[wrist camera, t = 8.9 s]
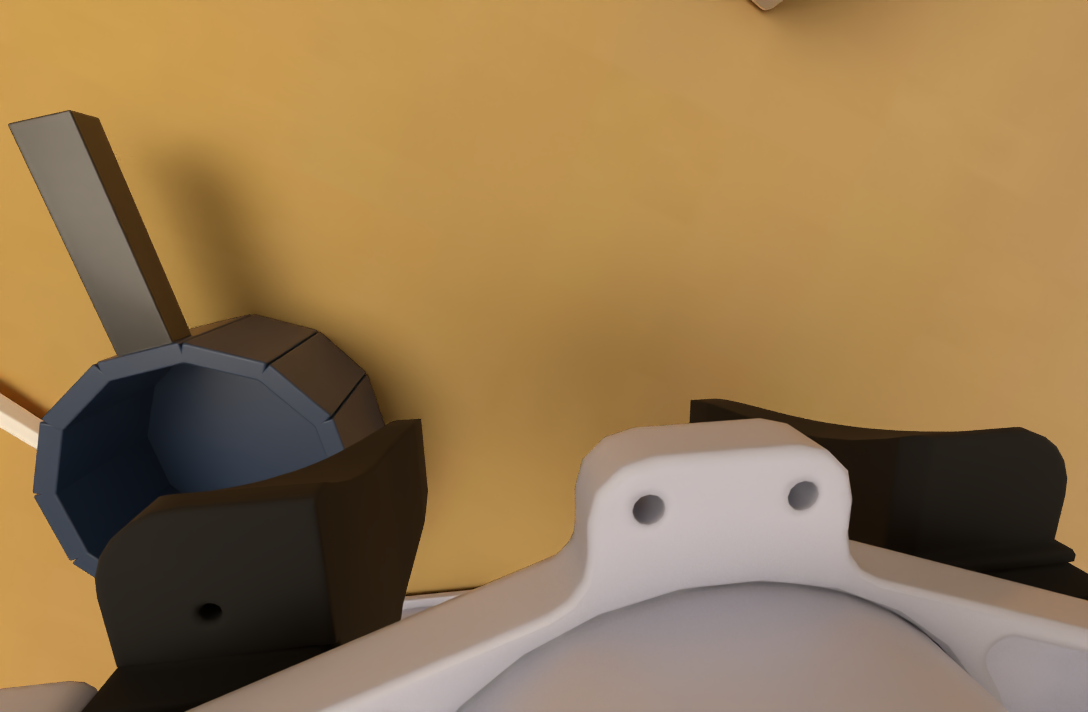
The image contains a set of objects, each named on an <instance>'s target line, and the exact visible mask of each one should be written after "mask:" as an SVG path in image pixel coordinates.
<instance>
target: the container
mask: <svg viewBox="0 0 1088 712" xmlns="http://www.w3.org/2000/svg"><path fill="white" fill-rule="evenodd" d="M751 1H753V2H754V3H755V4H756V5H757V6H758V7H759V8H761V9H763V10H769V9H772V8H774V7H775V6H776V5H778V4H779V3H780V2H782V1H783V0H751Z"/></svg>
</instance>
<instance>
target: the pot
mask: <svg viewBox="0 0 1088 712" xmlns="http://www.w3.org/2000/svg"><path fill="white" fill-rule="evenodd" d="M8 126H9V128H10V130H11V132H12V134H13V136H14V139H15V141H16V143H17V145H18V147H19V149H20V151H21V153H22V155H23V158H24V160H25V162H26V164H27V166H28V168H29V170H30V172H31V174H32V177H33V179H34V181H35V183H36V185H37V187H38V189H39V191H40V193H41V196H42V198H43V200H44V202H45V204H46V206H47V208H48V210H49V212H50V215H51V217H52V219H53V221H54V223H55V225H56V227H57V229H58V231H59V234H60V236H61V238H62V240H63V242H64V244H65V246H66V248H67V250H68V253H69V255H70V257H71V259H72V261H73V263H74V265H75V267H76V269H77V272H78V274H79V276H80V278H81V280H82V282H83V284H84V286H85V288H86V291H87V293H88V295H89V297H90V299H91V301H92V303H93V305H94V307H95V310H96V312H97V314H98V316H99V318H100V320H101V322H102V324H103V326H104V329H105V331H106V333H107V335H108V337H109V339H110V341H111V343H112V345H113V348H114V350H115V352H116V354H117V355H116V356H113V357H110V358H107V359H105V360H102V361H99V362H98V363H97V364H94V365H92V366H91V367H90V368H89V369H88V370H87V371H86V373H85V374H84V375H83V376H82V377H81V378H80V379H79V380H78V381H77V382H76V383H75V384H74V385H73V386H72V387H71V388H70V389H69V390H68V391H67V393H66V394H65V395H64V396H63V397H62V398H61V399H60V400H59V401H58V402H57V403H56V404H55V405H54V406H53V407H52V408H51V409H50V410H49V411H48V413H47V414H46V415H45V416H44V417H43V418H42V420H43V421H42V422H40V425H39V435H38V445H37V455H36V466H35V476H34V486H33V493H36V495H35V496H34V498H35V500H36V501H37V503H38V505H39V507H40V508H41V510H42V512H43V514H44V516H45V517H46V519H47V521H48V523H49V524H50V526H51V528H52V530H53V532H54V533H55V535H56V537H57V539H58V540H59V542H60V544H61V546H62V548H63V549H64V551H65V553H66V555H67V556H68V558H69V560H74V559H76V560H75V561H74V562H73V564H74V565H76V566H77V567H79V568H81V569H82V570H84V571H85V572H87V573H88V574H90V575H91V576H93V577H95V574H96V569H97V565H98V560H99V557H100V555H101V553H102V552H103V550H104V549H105V547H106V545H107V544H108V542H109V540H110V539H111V538H112V537H113V536H114V535H116V534H117V533H118V532H119V531H120V530H121V529H122V528H124V527H125V526H126V525H127V524H128V523H129V522H130V521H132V520H133V519H134V518H135V517H136V516H137V515H139V514H140V513H141V512H142V511H143V510H144V509H145V508H147V507H148V506H149V505H150V504H151V503H152V502H154V501H155V500H156V499H157V498H158V497H160V496H165V495H172V494H181V493H192V492H205V491H213V490H219V489H225V488H230V487H235V486H240V485H245V484H249V483H254V482H258V481H262V480H266V479H269V478H273V477H276V476H279V475H283V474H286V473H289V472H292V471H296V470H299V469H301V468H304V467H307V466H309V465H312V464H314V463H317V462H319V461H321V460H324V459H326V458H328V457H330V456H332V455H334V454H336V453H338V452H340V451H342V450H344V449H346V448H347V447H349V446H351V445H353V444H355V443H357V442H359V441H360V440H362V439H364V438H365V437H367V436H369V435H370V434H372V433H374V432H375V431H377V430H378V429H380V428H382V427H384V426H385V425H384V422H383V419H382V416H381V413H380V410H379V407H378V404H377V401H376V398H375V395H374V393H373V390H372V387H371V384H370V381H369V378H368V375H364V374H365V371H364V370H362V369H361V368H360V367H359V366H358V365H357V364H356V363H355V362H353V361H352V360H351V359H350V358H349V357H348V356H347V355H346V354H344V353H343V352H342V351H341V350H340V349H339V348H338V347H337V346H335V345H334V344H333V343H332V342H331V341H330V340H329V339H327V338H326V337H325V336H324V335H323V334H322V333H321V332H319V333H317V331H316V330H314V329H310V328H306V327H302V326H298V325H294V324H291V323H287V322H283V321H279V320H275V319H271V318H267V317H263V316H259V315H251V314H249V315H244V316H240V317H236V318H232V319H228V320H224V321H220V322H216V323H212V324H208V325H204V326H200V327H196V328H191V329H189V328H188V326H187V323H186V321H185V319H184V316H183V314H182V312H181V309H180V307H179V305H178V302H177V300H176V298H175V295H174V293H173V291H172V288H171V286H170V284H169V281H168V279H167V277H166V274H165V272H164V270H163V267H162V265H161V263H160V260H159V258H158V256H157V253H156V251H155V249H154V246H153V244H152V242H151V239H150V237H149V235H148V232H147V230H146V228H145V225H144V223H143V221H142V218H141V216H140V214H139V211H138V209H137V207H136V204H135V202H134V200H133V197H132V195H131V193H130V190H129V188H128V186H127V183H126V181H125V179H124V176H123V174H122V172H121V169H120V167H119V165H118V162H117V160H116V158H115V155H114V153H113V151H112V148H111V146H110V144H109V141H108V139H107V137H106V134H105V132H104V130H103V127H102V125H101V123H100V120H99V119H98V118H96V117H93V116H89V115H86V114H82V113H78V112H75V111H71V110H68V111H63V112H59V113H54V114H50V115H45V116H41V117H36V118H31V119H27V120H22V121H18V122H13V123H9V124H8ZM316 333H317V334H316Z"/></svg>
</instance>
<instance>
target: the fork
mask: <svg viewBox="0 0 1088 712" xmlns="http://www.w3.org/2000/svg"><path fill="white" fill-rule="evenodd" d="M42 421H43V420H41V419H40V418H38V417H36V416H35V415H33V414H32V413H30V412H29V411H27V410H26V409H24V408H23V407H21V406H19V405H18V404H16V403H15V402H13V401H12V400H10V399H9V398H7V397H5V396H4V395H2V394H1V393H0V428H2V429H4V430H5V431H7V432H9V433H10V434H12V435H14V436H15V437H17V438H19V439H20V440H22V441H24V442H25V443H27V444H29V445H30V446H32V447H34V448H35V449H37V445H38V435H39V425H40V422H42Z"/></svg>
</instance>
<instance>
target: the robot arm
mask: <svg viewBox="0 0 1088 712" xmlns="http://www.w3.org/2000/svg"><path fill="white" fill-rule="evenodd" d="M1066 484H1067V475H1066V469H1065V463H1064V459H1063V458H1062V456H1061V454H1060V452H1059V450H1058V448H1057V447H1056V446H1055V445H1054V444H1053V443H1052V442H1050V441H1049V440H1048V439H1047V438H1046V437H1044V436H1041V435H1039V434H1036V433H1034V432H1031V431H1029V430H1026V429H1024V428H1022V427H1012V428H999V429H986V430H973V431H959V432H919V431H895V430H882V429H869V428H859V427H851V426H844V425H837V424H831V423H824V422H819V421H814V420H809V419H804V418H800V417H795V416H791V415H786V414H782V413H778V412H774V411H770V410H766V409H762V408H759V407H755V406H751V405H747V404H743V403H739V402H734V401H729V400H723V399H701V400H691V405H690V423H688V424H674V425H660V426H647V427H634V428H631V429H628V430H624V431H621V432H618V433H615V434H612V435H609V436H606V437H604V438H603V439H602V440H601V441H600V442H599V443H598V444H597V445H596V446H595V447H594V448H593V449H592V450H591V451H590V452H589V453H588V454H587V455H586V456H585V457H584V458H583V459H582V463H581V467H580V470H579V474H578V478H577V481H576V485H575V525H574V532H573V534H572V536H571V539H570V541H569V542H568V543H567V544H566V545H565V546H564V547H563V549H562V550H561V551H559V552H558V553H557V554H556V555H553V556H551V557H549V558H546V559H544V560H542V561H539V562H537V563H534V564H532V565H530V566H527V567H525V568H523V569H520V570H518V571H516V572H513V573H511V574H509V575H506V576H504V577H501V578H499V579H497V580H494V581H492V582H490V583H487V584H485V585H483V586H480V587H478V588H476V589H473V590H464V591H454V592H444V593H434V594H424V595H414V596H405V594H406V590H407V586H408V582H409V578H410V575H411V571H412V567H413V564H414V560H415V556H416V552H417V549H418V545H419V541H420V537H421V534H422V530H423V526H424V522H425V513H426V504H427V494H428V488H427V477H426V467H425V456H424V446H423V435H422V425H421V419H410V420H396V421H393V422H391V423H389V424H387V425H385V426H384V427H382V428H380V429H378V430H377V431H375V432H374V433H372V434H370V435H369V436H367V437H365V438H364V439H362V440H360V441H359V442H357V443H355V444H353V445H351V446H349V447H347V448H346V449H344V450H342V451H340V452H338V453H336V454H334V455H332V456H330V457H328V458H326V459H324V460H321V461H319V462H317V463H314V464H312V465H309V466H307V467H304V468H301V469H299V470H296V471H292V472H289V473H286V474H283V475H279V476H276V477H273V478H269V479H266V480H262V481H258V482H254V483H249V484H245V485H240V486H235V487H230V488H225V489H219V490H213V491H205V492H192V493H181V494H172V495H165V496H160V497H158V498H157V499H156V500H155V501H154V502H152V503H151V504H150V505H149V506H148V507H147V508H145V509H144V510H143V511H142V512H141V513H140V514H139V515H137V516H136V517H135V518H134V519H133V520H132V521H130V522H129V523H128V524H127V525H126V526H125V527H124V528H122V529H121V530H120V531H119V532H118V533H117V534H116V535H114V536H113V537H112V538H111V539H110V540H109V542H108V544H107V545H106V547H105V549H104V550H103V552H102V553H101V555H100V557H99V560H98V565H97V569H96V574H95V584H96V592H97V599H98V602H99V606H100V609H101V613H102V616H103V620H104V623H105V627H106V630H107V634H108V637H109V641H110V644H111V648H112V651H113V655H114V658H115V662H116V665H117V667H118V668H117V669H116V670H115V672H114V673H113V674H112V675H111V676H110V678H109V679H108V680H107V681H106V683H105V684H104V685H103V686H102V687H101V689H100V690H99V691H97V689H96V688H95V687H93V686H91V685H89V684H87V683H85V682H74V681H66V682H57V683H48V684H39V685H30V686H21V687H12V688H3V689H0V712H1088V574H1087V573H1086V572H1084V571H1082V570H1080V569H1079V568H1077V567H1075V566H1073V565H1072V564H1070V563H1068V562H1072V561H1074V559H1075V553H1074V551H1073V549H1071V548H1069V547H1067V546H1065V545H1064V544H1062V543H1060V542H1058V541H1056V540H1054V539H1055V535H1056V531H1057V527H1058V523H1059V518H1060V514H1061V510H1062V506H1063V502H1064V498H1065V493H1066Z"/></svg>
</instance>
